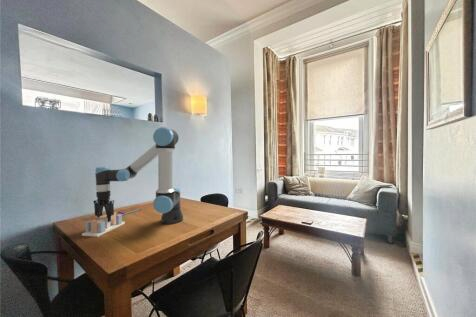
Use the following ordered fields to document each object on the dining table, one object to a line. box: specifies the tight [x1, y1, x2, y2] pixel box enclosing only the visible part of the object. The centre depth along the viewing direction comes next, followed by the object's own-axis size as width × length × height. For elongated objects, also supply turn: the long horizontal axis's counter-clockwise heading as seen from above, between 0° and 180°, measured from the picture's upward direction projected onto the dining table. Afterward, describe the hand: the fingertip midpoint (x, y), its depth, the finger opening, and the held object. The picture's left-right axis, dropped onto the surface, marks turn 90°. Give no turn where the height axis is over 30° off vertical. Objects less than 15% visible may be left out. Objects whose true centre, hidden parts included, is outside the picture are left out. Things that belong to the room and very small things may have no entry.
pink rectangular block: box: [90, 211, 117, 233], centre depth 130 cm, size 4×18×7 cm, turn 178°
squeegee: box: [118, 208, 142, 216], centre depth 162 cm, size 29×2×10 cm
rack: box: [81, 213, 125, 238], centre depth 130 cm, size 11×22×7 cm, turn 170°
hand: (104, 226), depth 130 cm, fingers closed on pink rectangular block, 4 cm apart
